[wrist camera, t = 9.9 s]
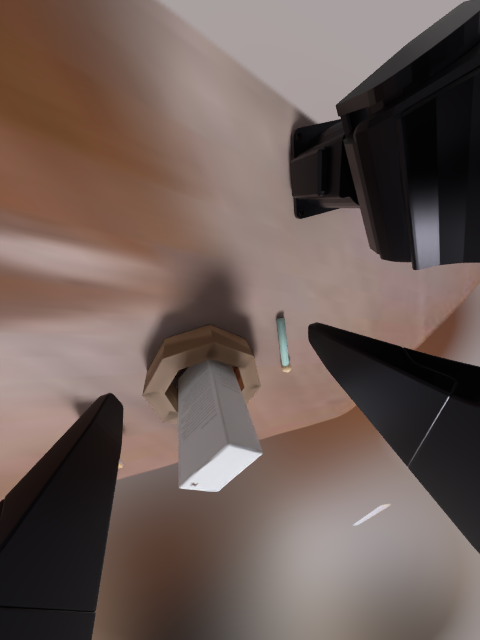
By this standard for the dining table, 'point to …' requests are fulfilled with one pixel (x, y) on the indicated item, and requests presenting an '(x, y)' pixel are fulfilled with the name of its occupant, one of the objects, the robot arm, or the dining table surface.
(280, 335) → the teal thin rod
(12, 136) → the dining table surface
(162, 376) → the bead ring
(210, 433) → the skincare box
